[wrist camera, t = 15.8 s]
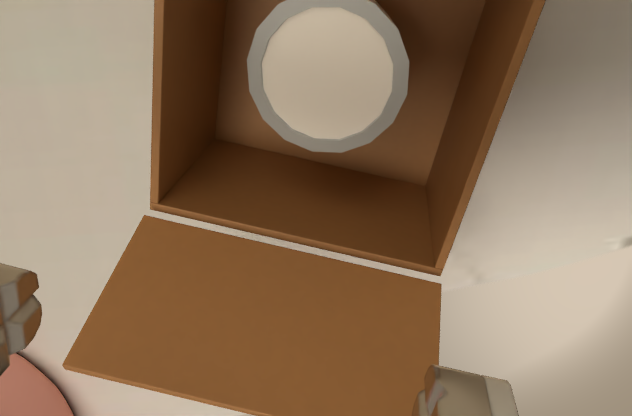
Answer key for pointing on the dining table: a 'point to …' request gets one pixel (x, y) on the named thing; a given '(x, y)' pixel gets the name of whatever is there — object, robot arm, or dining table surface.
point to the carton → (332, 167)
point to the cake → (29, 392)
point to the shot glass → (328, 72)
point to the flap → (259, 327)
